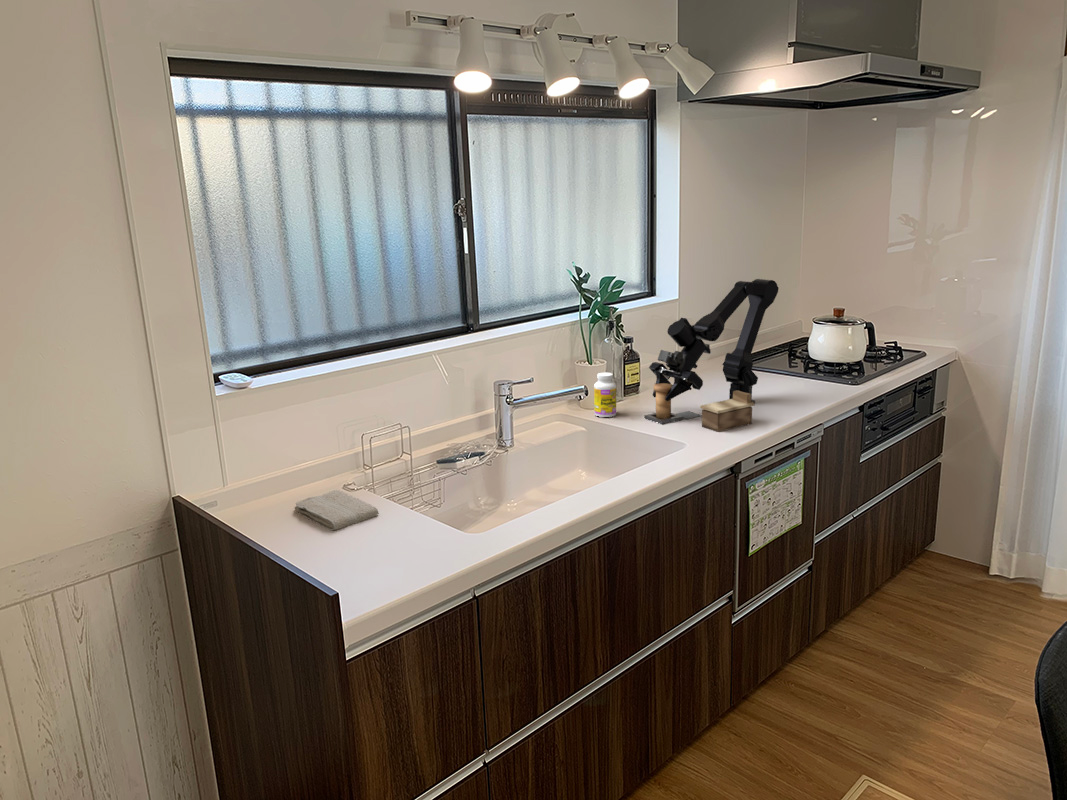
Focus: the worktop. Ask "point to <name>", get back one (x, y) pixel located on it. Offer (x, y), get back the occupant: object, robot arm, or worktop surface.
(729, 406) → the lid
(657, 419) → the keeper
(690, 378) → the robot arm
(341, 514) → the washcloth
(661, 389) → the key peg
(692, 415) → the felt pad
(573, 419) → the worktop surface
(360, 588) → the worktop surface
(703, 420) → the toolbox
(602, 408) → the supplement bottle
